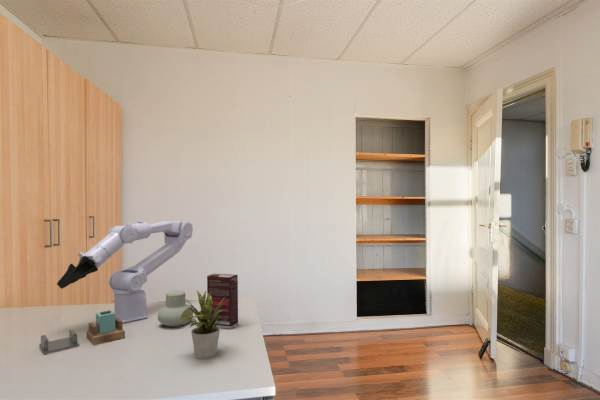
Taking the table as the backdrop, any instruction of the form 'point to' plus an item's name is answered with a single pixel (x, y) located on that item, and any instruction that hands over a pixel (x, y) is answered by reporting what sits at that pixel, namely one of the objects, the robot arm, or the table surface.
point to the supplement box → (224, 298)
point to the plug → (105, 322)
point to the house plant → (204, 327)
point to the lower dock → (59, 343)
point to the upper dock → (106, 337)
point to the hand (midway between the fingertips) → (64, 283)
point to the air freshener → (175, 310)
